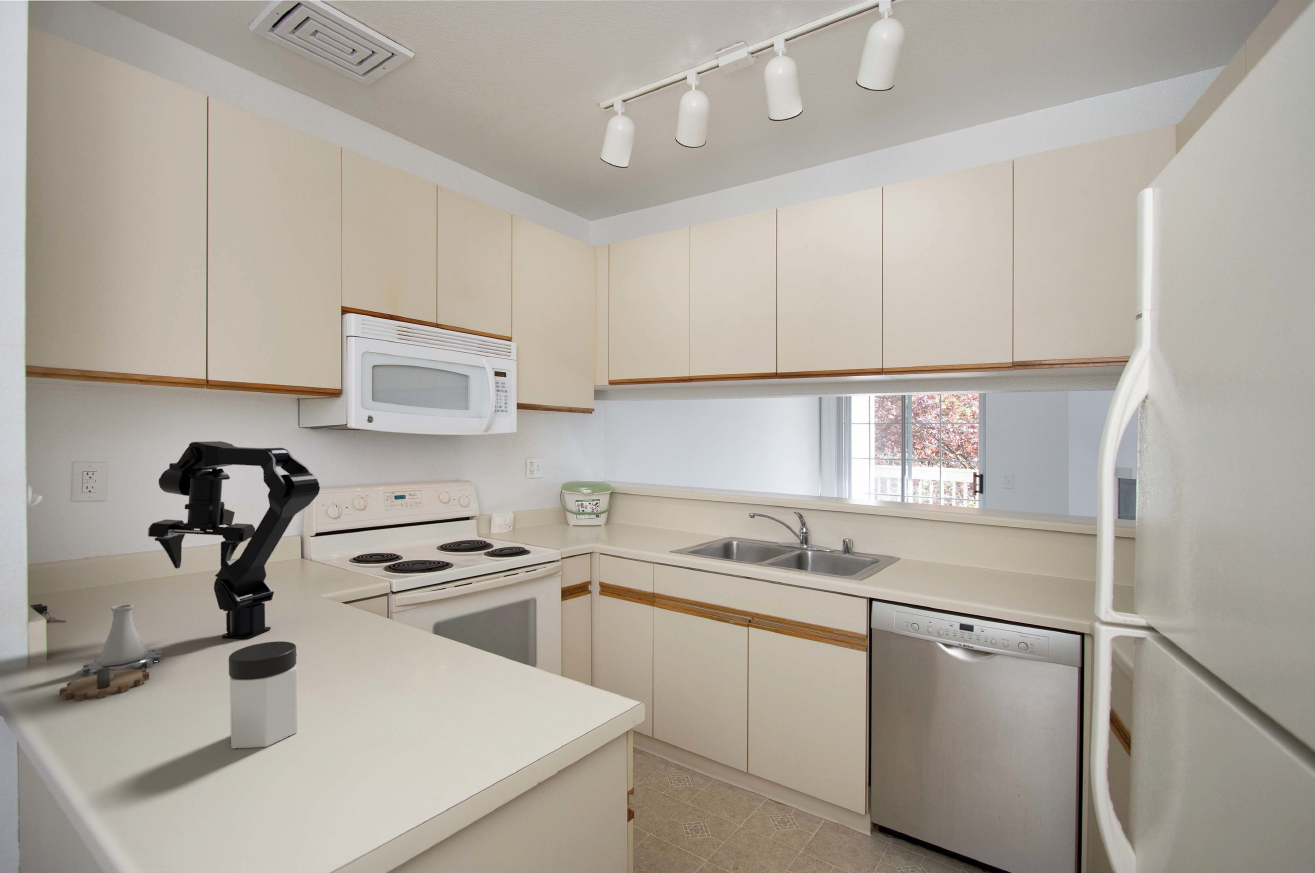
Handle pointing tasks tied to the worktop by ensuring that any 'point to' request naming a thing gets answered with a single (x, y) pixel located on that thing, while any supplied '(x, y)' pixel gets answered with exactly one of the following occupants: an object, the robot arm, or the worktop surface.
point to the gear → (144, 662)
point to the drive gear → (104, 683)
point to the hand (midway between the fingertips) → (200, 569)
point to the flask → (122, 639)
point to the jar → (263, 694)
